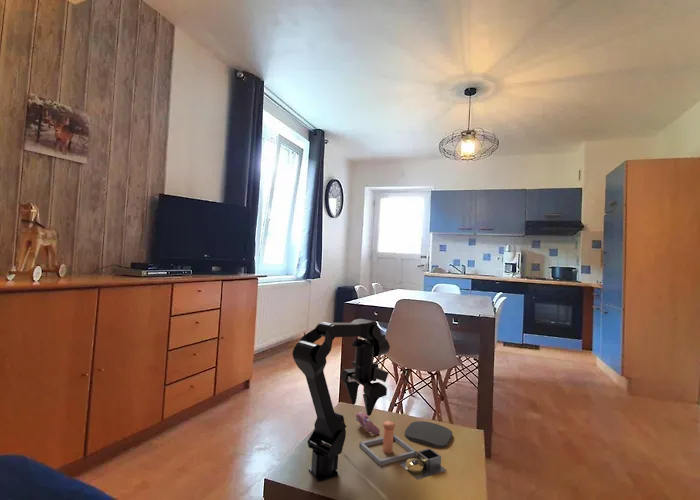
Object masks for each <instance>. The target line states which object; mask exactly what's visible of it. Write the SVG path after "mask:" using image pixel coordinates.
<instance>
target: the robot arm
mask: <svg viewBox="0 0 700 500" xmlns="http://www.w3.org/2000/svg"><path fill="white" fill-rule="evenodd" d="M322 337H323V338H324V341H323V342H322V344H318V343H315V342H316V341H318V340H320V339H321V338H322ZM348 337H358V338H356V339H355V340H354V341H353V342H352V344H351V347H355V352H354V353H355V357H354V361H352V363H351V364H352V366H354V368H347V369H343V370H342V371H341V373H340V378H341V380H342V383H343V384H344V386H345V388H346V391H347V393H348V396H349V399H350V402H351V404H352V405H355V404H356V403H357V397H358V390H359V387H360V385H361V386H363V394H362V396H363V402H364V406H365V412H366V414H367V415H368V417H369V416H371V415H372V414H373V410H374V408H375V406H376V404H377V402H378V400H379V399H380V398H384V397H385V396H387V394H388V388H387V387H386V385H385V384H382V383H381V382H384V383H386V381H387V379H388V375H389V372H388V371H386V370H384V369H382V368H380V367H379V364H377V363H376V362H374V358H376V357H380V356H383V355H386V354H388V353H389V351H390V349H391V348H390V347H391V345H390V342H389V341H388V339H386V334H383V333H382V332H381V330H380V327H379V326H378V322H377V321H374V320H369V319H365V318H364V319H363V318H357V319H354V320H352V321H351V322H325V321H321V322H318V324H317V325H316V326H315V328H313V329H311V330H310V331H309V332H307V333H306V334H304V335H302V337H301V338H300V340H299V341H298V342H297V343H296V345H294V347H293V350H292V358H293V360H294V362H295V364H296V366H297V368H298V369H299V370H300V371H301V372H302V374H304V377H305V379H306V382H307V386H308V390H309V393H310V397H311V399H312V404H313V407H314V408H313V409H314V411H315V413H316V415H315V416H316V419H315V421H314V425H313V426H314V429H313V432H311V435H310V437H309V438H308V440H307V447H308V448H309V449H311V451H312V452H311V453H312V454H311V465H310V466H309V467H308V470H309V472H310V473H311V474H312V476H313V477H314V479H315V480H316V481H317V482H321V481H324V480H329V479H331V478H336V477H339V475H340V474H339V472H338V466H339V465H338V464H339V455H341V454H342V452H343V449H344V448H343V447H344V444H345V440H346V435H347V431H346V428H347V425H346V423H345V417H344V415H342V414H341V413H338V412H336V411H335V410H334V406H333V403H332V402H333V401H332V399H331V398H332V397H331V395H330V391H329V388H328V384H327V380H326V376H325V373H324V372H325V371H324V370H325V368H326V365H327V357H328V355H329V354H330V353H331V351H332V347H333V346H332V345H333V341H334V339H335V338H348ZM377 380H379V381H381V382H379V381H377Z"/></svg>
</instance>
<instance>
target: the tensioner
mask: <svg viewBox="0 0 700 500" xmlns="http://www.w3.org/2000/svg"><path fill="white" fill-rule="evenodd" d="M397 463H398V465H399V466H401V467H402V468H404V470H406V471H407V472H408V473H409V474H411V476H413V477H414V478H415V479H416V480H421V479H423V478H424V479H425V478H427V477H430V476H433V475H436V474H440V473H443V472H447V471H448V469H447V468H445V467H443V466H442V465H441V464H442V455H440V454H439V453H437V452H436V451H435V450H434V449H432V448H425V449H420V450H418V451H417V456H414V457H410V458H407V459H404V460H400V461H397Z"/></svg>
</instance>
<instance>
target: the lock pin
mask: <svg viewBox="0 0 700 500" xmlns="http://www.w3.org/2000/svg"><path fill="white" fill-rule="evenodd" d="M382 425H383V437H384V438H383V443H382V452H383V453H384V454H386V455H387V454H389V455H390V454H393V447H394V440H393V435H394V432H395V431H394V430H395V428H396V424H395V422H393V421H390V420H386V421H383V424H382Z"/></svg>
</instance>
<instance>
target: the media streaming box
mask: <svg viewBox="0 0 700 500" xmlns="http://www.w3.org/2000/svg"><path fill="white" fill-rule="evenodd" d="M404 437H405V438H406V439H407V440H409V441H410V442H411V441H412V442H414V443H418V444H421V445H423V446H427V447H431V448H435V449H445V448H447V447H448V445H449V444H450V443H451V440H452V438H453V431H452V430H451V429H449V428H448V427H446V426H443V425H441V424H438V423H434V422H430V421H421V420H417V421H412V422H411V423H410V424H409V425H408V426H407V427H406V428H405V431H404Z"/></svg>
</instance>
